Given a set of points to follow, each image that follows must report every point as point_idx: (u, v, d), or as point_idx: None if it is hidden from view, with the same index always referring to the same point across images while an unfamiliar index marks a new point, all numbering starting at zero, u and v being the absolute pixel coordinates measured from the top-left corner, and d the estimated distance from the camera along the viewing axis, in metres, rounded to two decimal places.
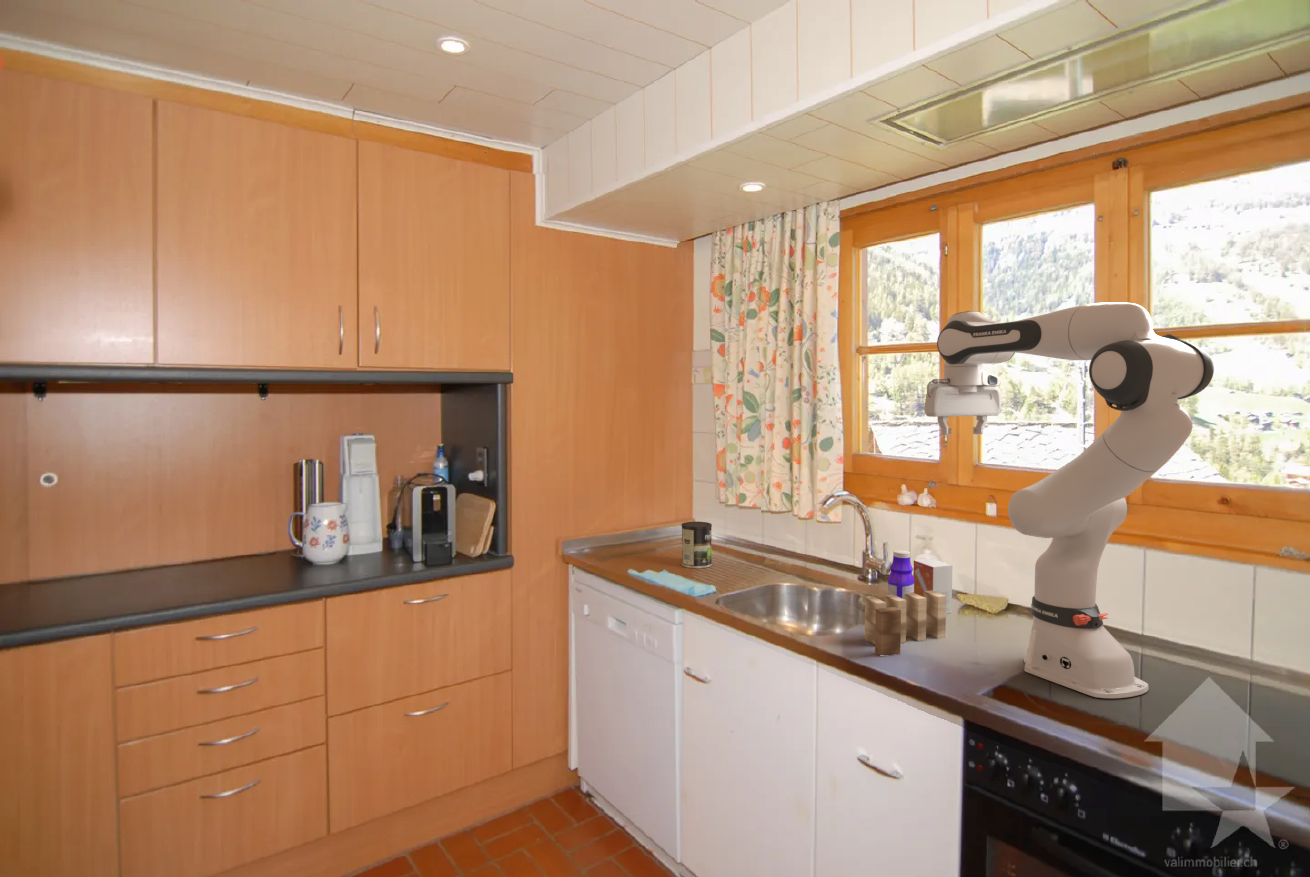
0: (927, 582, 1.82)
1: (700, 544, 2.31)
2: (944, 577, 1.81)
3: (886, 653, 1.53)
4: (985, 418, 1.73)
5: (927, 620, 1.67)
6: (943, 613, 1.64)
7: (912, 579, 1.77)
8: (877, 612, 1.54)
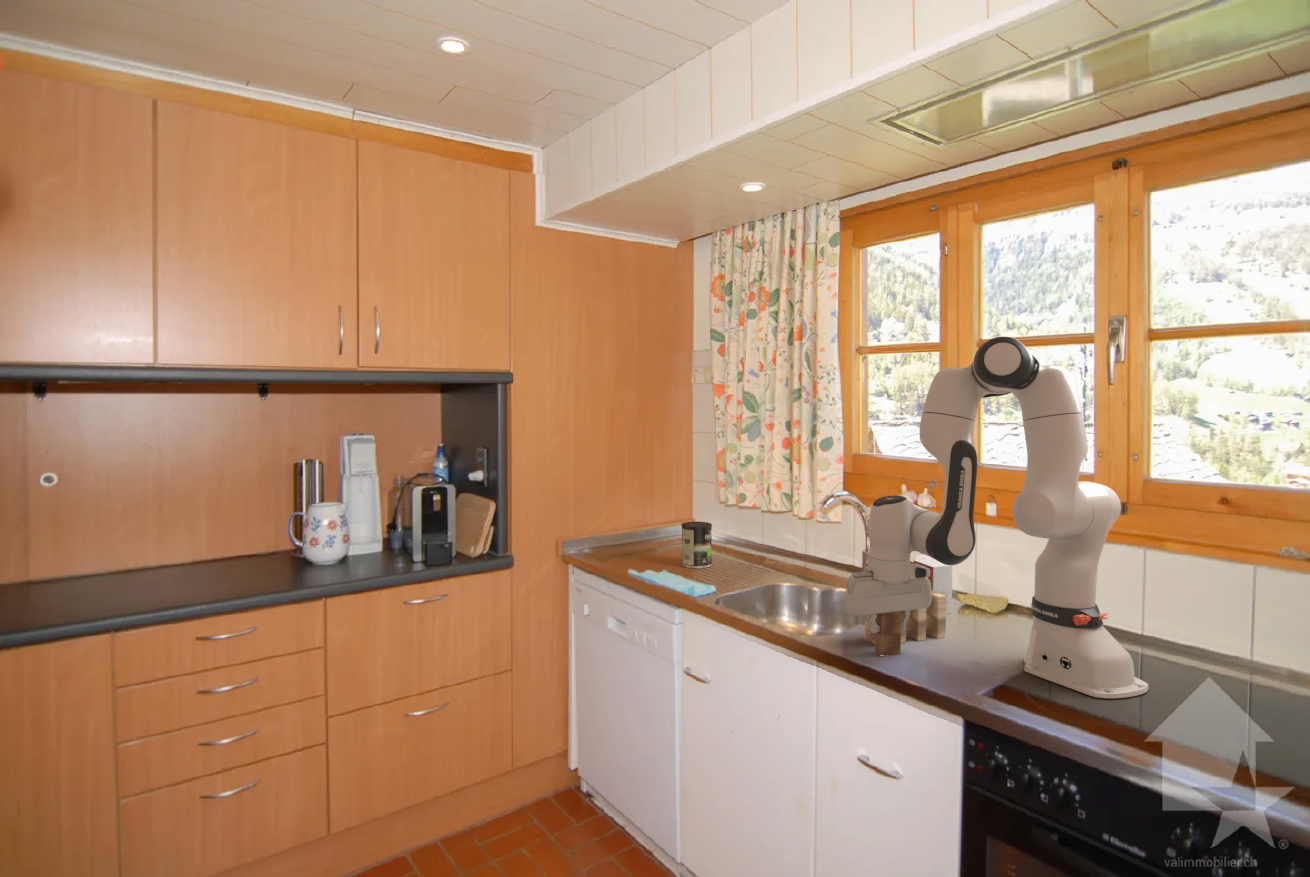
0: None
1: (700, 544, 2.31)
2: (944, 577, 1.81)
3: (886, 653, 1.53)
4: (908, 612, 1.54)
5: (927, 620, 1.67)
6: (943, 613, 1.64)
7: None
8: None
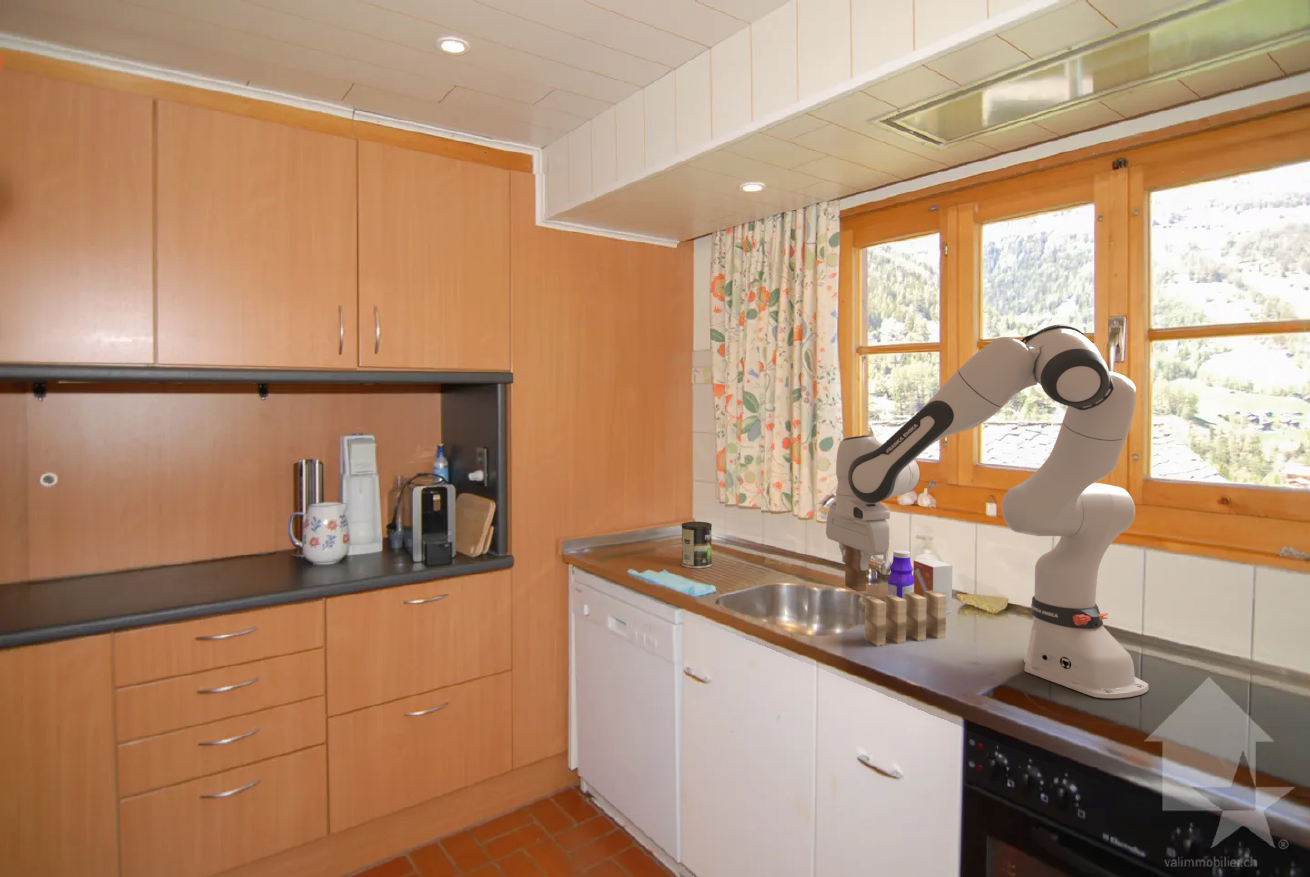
0: (927, 582, 1.82)
1: (700, 544, 2.31)
2: (944, 577, 1.81)
3: (848, 585, 1.60)
4: (862, 553, 1.54)
5: (927, 620, 1.67)
6: (943, 613, 1.64)
7: (912, 579, 1.77)
8: None
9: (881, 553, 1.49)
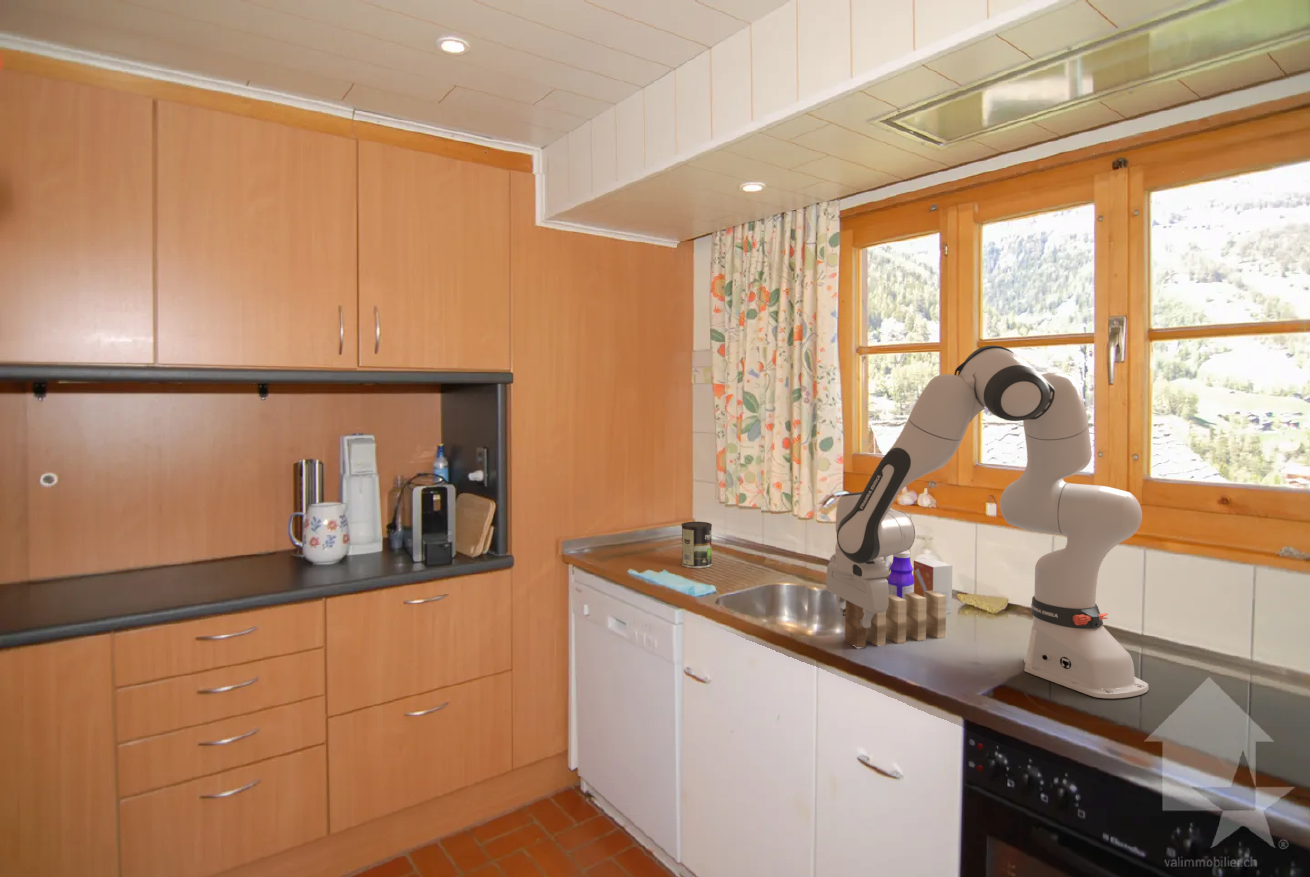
0: (927, 582, 1.82)
1: (700, 544, 2.31)
2: (944, 577, 1.81)
3: (848, 641, 1.61)
4: (865, 611, 1.54)
5: (927, 620, 1.67)
6: (943, 613, 1.64)
7: (912, 579, 1.77)
8: None
9: (880, 611, 1.50)
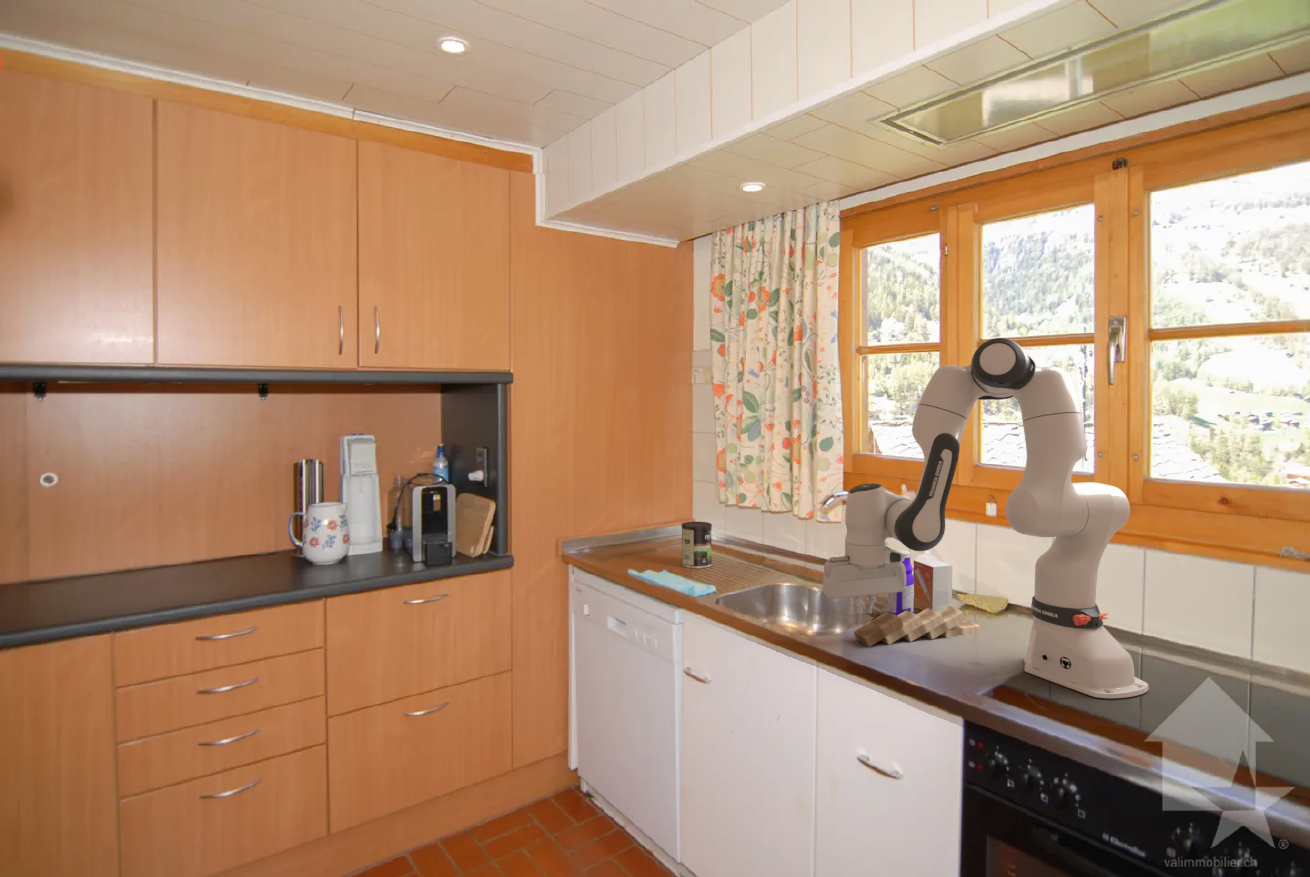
0: (927, 582, 1.82)
1: (700, 544, 2.31)
2: (944, 577, 1.81)
3: (858, 632, 1.62)
4: (874, 597, 1.60)
5: None
6: (966, 634, 1.66)
7: (912, 579, 1.77)
8: None
9: None
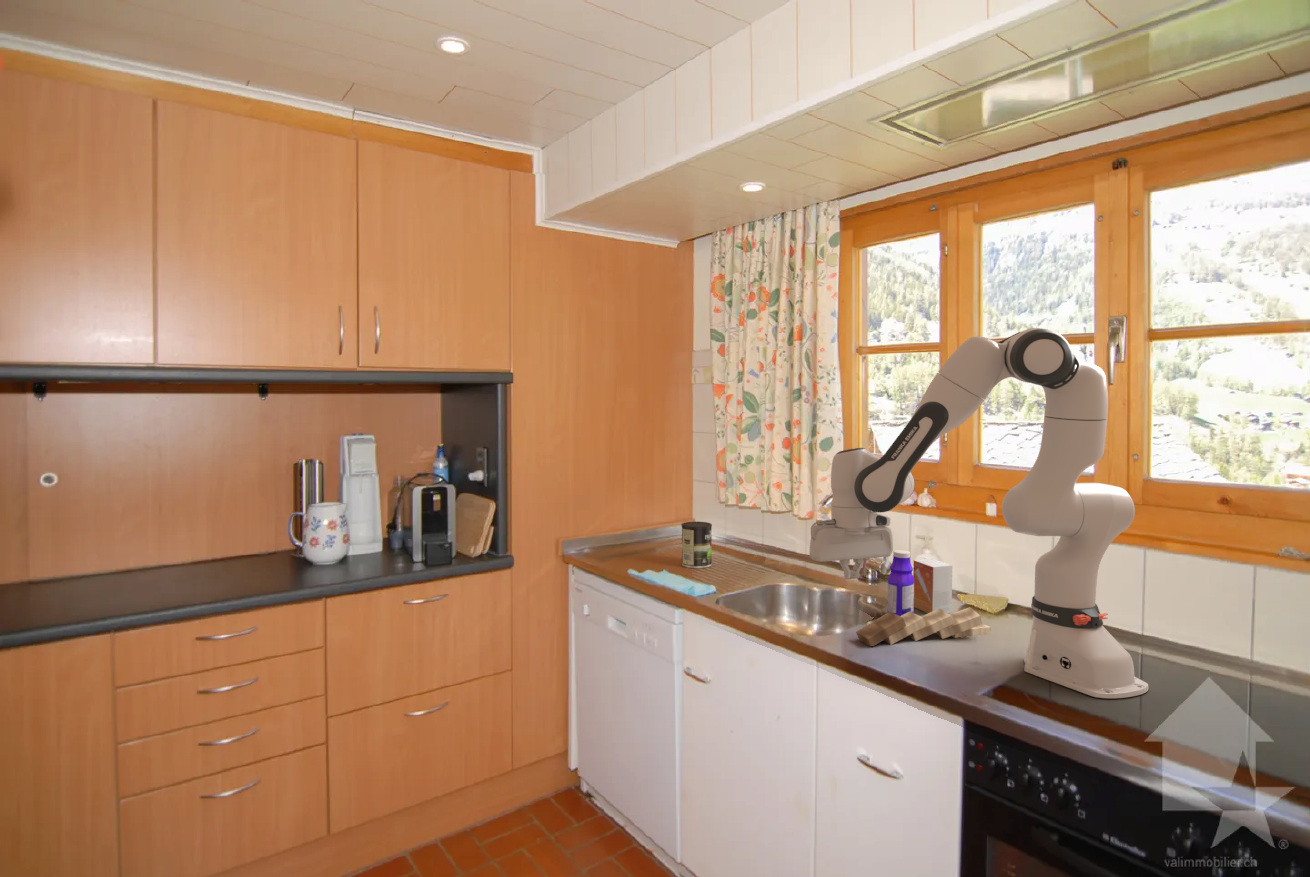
0: (927, 582, 1.82)
1: (700, 544, 2.31)
2: (944, 577, 1.81)
3: (861, 632, 1.61)
4: (861, 561, 1.60)
5: None
6: None
7: (912, 579, 1.77)
8: None
9: None
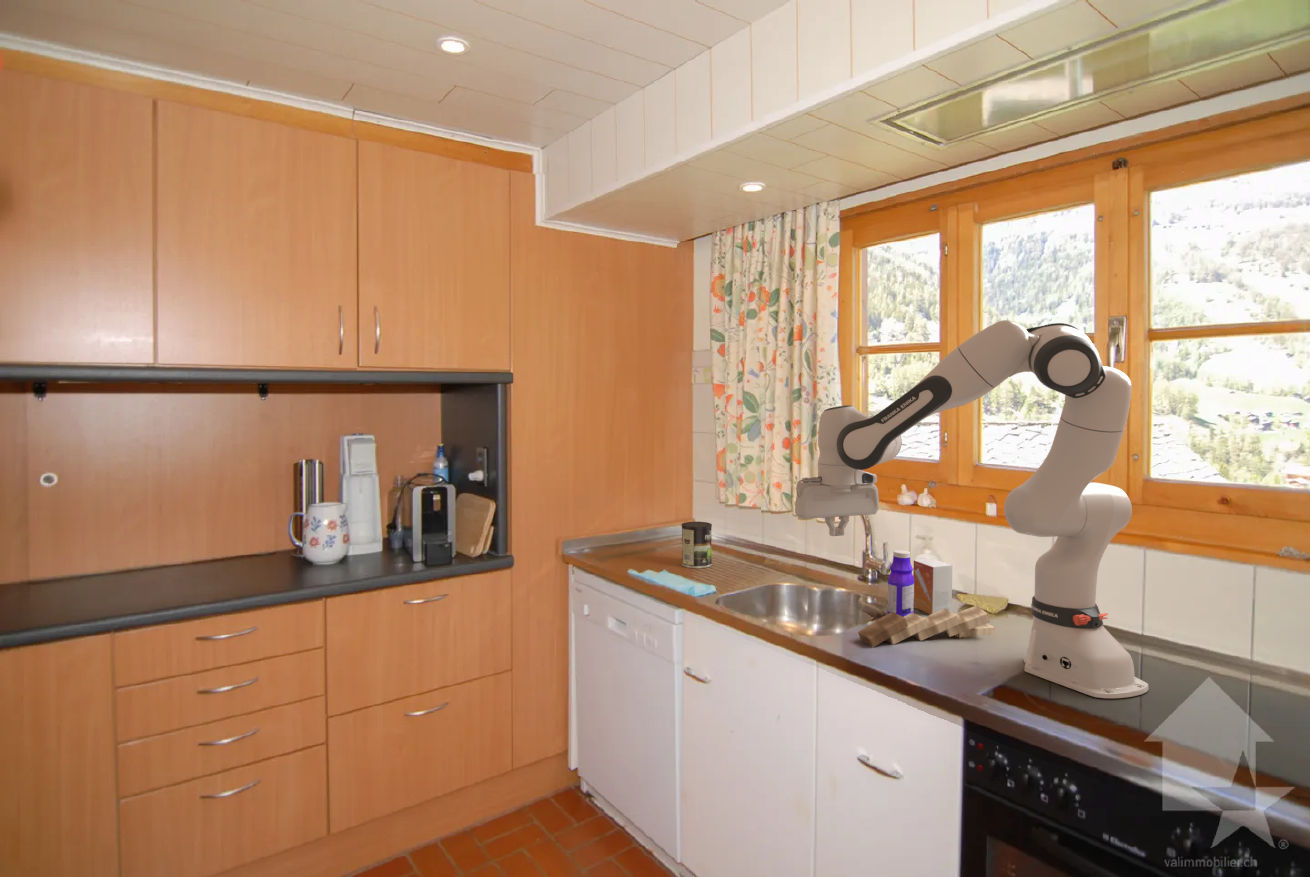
0: (927, 582, 1.82)
1: (700, 544, 2.31)
2: (944, 577, 1.81)
3: (863, 633, 1.61)
4: (847, 518, 1.60)
5: None
6: None
7: (912, 579, 1.77)
8: None
9: None
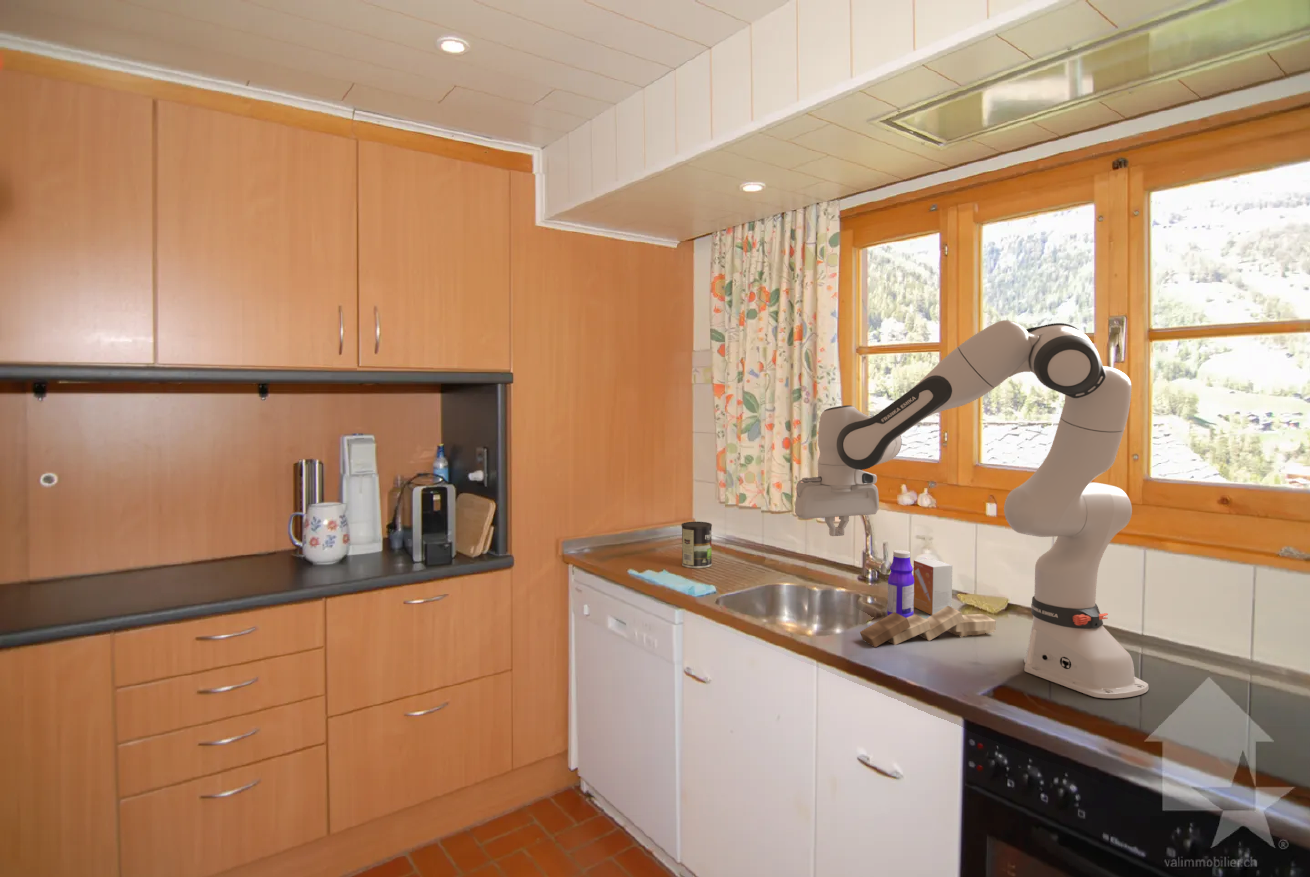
0: (927, 582, 1.82)
1: (700, 544, 2.31)
2: (944, 577, 1.81)
3: (865, 633, 1.61)
4: (847, 518, 1.60)
5: None
6: None
7: (912, 579, 1.77)
8: None
9: None
